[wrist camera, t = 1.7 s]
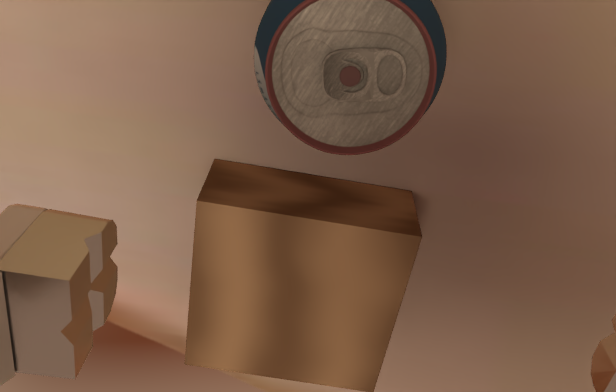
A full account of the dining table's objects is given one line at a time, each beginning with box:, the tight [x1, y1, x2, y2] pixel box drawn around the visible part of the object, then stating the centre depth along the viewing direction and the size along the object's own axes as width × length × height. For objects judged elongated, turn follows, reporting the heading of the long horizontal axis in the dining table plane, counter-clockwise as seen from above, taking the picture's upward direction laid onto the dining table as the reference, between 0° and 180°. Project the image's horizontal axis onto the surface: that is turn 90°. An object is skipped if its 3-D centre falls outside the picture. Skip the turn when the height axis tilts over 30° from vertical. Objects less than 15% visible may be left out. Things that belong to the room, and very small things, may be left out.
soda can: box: [254, 0, 446, 155], centre depth 24 cm, size 7×7×12 cm
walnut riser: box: [185, 159, 422, 392], centre depth 35 cm, size 12×12×5 cm
